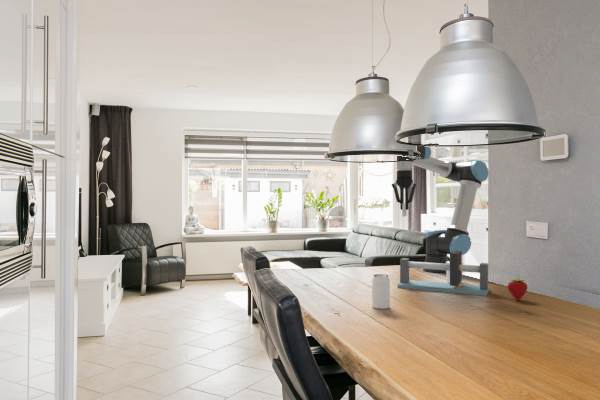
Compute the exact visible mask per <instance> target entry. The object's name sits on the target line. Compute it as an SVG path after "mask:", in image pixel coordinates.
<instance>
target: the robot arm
mask: <svg viewBox="0 0 600 400" xmlns="http://www.w3.org/2000/svg"><path fill="white" fill-rule="evenodd" d="M417 150H418V151H419V152H420V153H421V154H420V157H421V158H420V159H416V160H412V158H409V157H402V156H397V161H402V162H397V161H396V170H397V171H396V180H395V182H394V183H392V184H391V187H392V188H393V192H394V196H395V199H396V203H400V207H399V208H400V210H402V217H407V216H408V215H407V210H409V207H410V206H409V203H412V202H413V199H414V195H415V190H416V188H417V186H418V184H417V183H416V182H414V180H413V171H412V169H413V166H415V167H418V168H421V169H423V170H428V171H430V172H432V173H434V174H435V173H436V174H438V175H440V176H441V177H442V178H445V179H448V180H450V181H454V182H459V184H460V188H459V192H458V195H457V199H456V204H455V207H454V210H453V211H454V212H453V215H452V220H451V223H450V226H448V227H447V228H446V229H440V230H428V231H427V232H426V233H425V234H426V235H425V259H424V261H423V262H428V263H444V264H446V261H449V259H448V255H450V253H451V252H453V251H455V250H457V251H462V256H464V255H466V254H467V253H468V252H469V251H470V249H471V246H472V241H471V237H470V235H469V231H468V226H469V223H470V218H471V214H472V211H473V206H474V202H475V198H476V194H477V190H478V189H479V188H481V187H482V183H483V182H485V181H486V180H487V179H488V177H489V168H488V166H487V164H486V163H485V162H484V161H483V160H469V161H468V160H467V161H459V162H457V161H455V162H454V161H450V160H445V161H444V160H441V159H438V158H435V157H432V156H431V155H432V149H431V147H430V146H429V147H418V149H417ZM406 159H409V160H406ZM397 187H399V190H398V188H397ZM410 187H411V189H410ZM409 190H410V194H409ZM404 197H405V198H404ZM422 271H424V272H429V273H446V270H434V269H422Z"/></svg>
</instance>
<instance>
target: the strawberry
mask: <svg viewBox="0 0 600 400" xmlns="http://www.w3.org/2000/svg"><path fill="white" fill-rule="evenodd" d="M516 275H517V277H519V275H518V274H516ZM507 289H508V291H509V293H510V294H511V295H512V296H513V298H514V299H515V300H517V301H520V300H521V299H522V298H523V296H524V295H525V294H526V292H527V290H528V284H527V283H526V282H525V279H519V278H518V279H517V278H515V279H511V281H509V283H507Z"/></svg>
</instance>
